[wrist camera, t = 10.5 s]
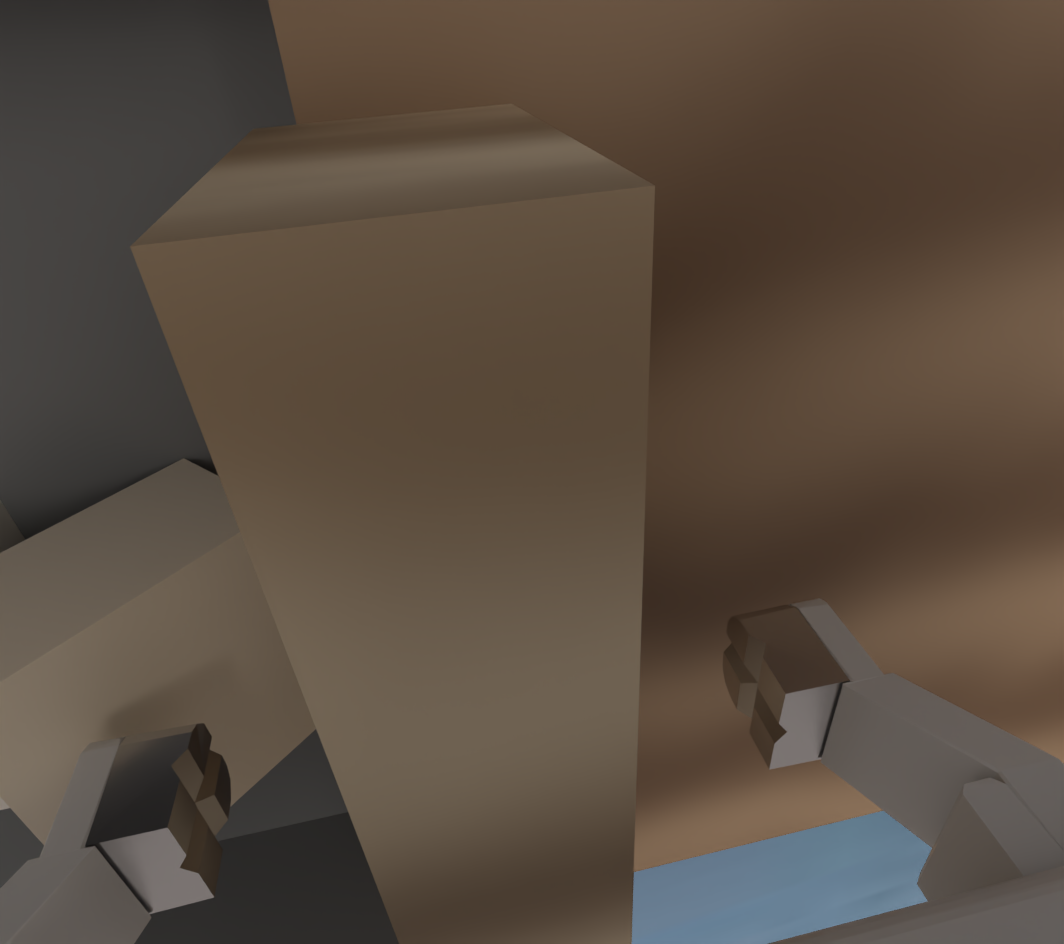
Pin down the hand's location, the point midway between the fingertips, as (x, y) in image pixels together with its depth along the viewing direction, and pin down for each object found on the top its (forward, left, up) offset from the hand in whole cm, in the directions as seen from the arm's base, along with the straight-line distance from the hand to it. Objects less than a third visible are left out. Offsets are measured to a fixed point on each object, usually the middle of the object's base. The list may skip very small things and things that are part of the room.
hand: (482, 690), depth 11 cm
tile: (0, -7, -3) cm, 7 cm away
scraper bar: (0, 0, -2) cm, 2 cm away
